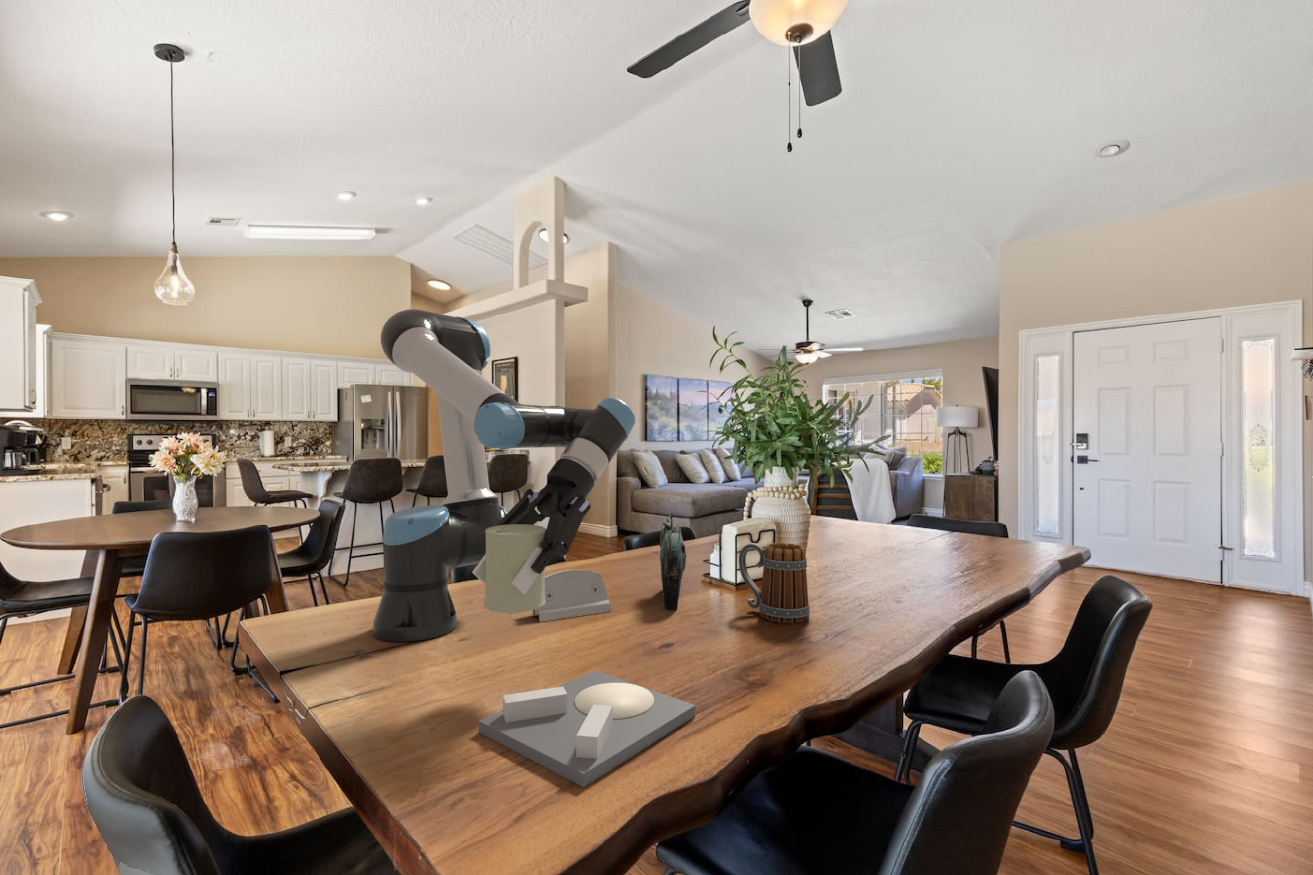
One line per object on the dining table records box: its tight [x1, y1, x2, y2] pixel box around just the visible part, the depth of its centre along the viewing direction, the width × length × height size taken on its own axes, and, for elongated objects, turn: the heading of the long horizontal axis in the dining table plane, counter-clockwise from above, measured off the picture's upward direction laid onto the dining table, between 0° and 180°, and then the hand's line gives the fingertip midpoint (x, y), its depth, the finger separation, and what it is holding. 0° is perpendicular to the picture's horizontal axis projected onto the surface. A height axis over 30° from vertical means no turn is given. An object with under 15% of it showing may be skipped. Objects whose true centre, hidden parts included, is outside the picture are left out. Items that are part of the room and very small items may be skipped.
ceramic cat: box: [659, 511, 687, 611], centre depth 141 cm, size 20×6×20 cm, turn 178°
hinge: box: [531, 569, 612, 623], centre depth 130 cm, size 17×5×10 cm, turn 119°
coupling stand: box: [478, 669, 696, 788], centre depth 80 cm, size 19×22×4 cm
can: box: [483, 524, 547, 614], centre depth 93 cm, size 9×9×12 cm
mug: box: [738, 542, 811, 625], centre depth 130 cm, size 16×11×15 cm
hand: (497, 582), depth 90 cm, fingers closed on can, 9 cm apart
